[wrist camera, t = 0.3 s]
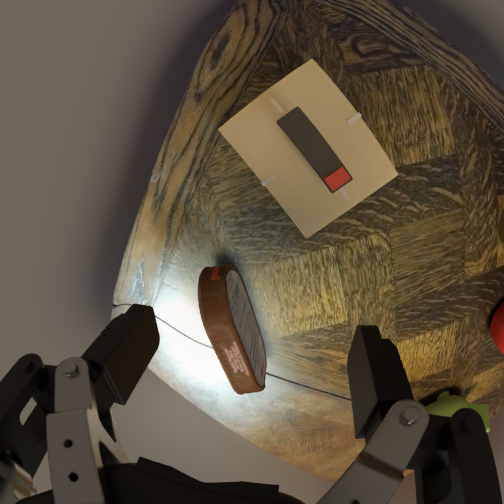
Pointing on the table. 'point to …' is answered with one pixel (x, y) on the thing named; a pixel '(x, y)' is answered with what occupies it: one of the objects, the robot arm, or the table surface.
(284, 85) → the panel
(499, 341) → the apple
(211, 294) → the tin
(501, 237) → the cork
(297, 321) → the table surface
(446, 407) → the teapot
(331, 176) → the red tipped black brick
